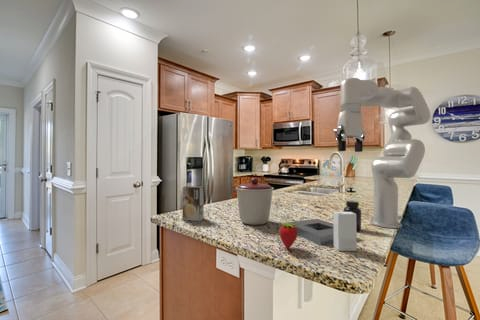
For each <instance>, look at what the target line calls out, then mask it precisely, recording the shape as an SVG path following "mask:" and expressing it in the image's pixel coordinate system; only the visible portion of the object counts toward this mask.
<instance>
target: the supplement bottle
mask: <svg viewBox="0 0 480 320" xmlns="http://www.w3.org/2000/svg"><path fill="white" fill-rule="evenodd" d="M345 201H346V203H345V207H344V208H343V212H352V213H355V214H356V228H357V232H360V231H362V210H361V208H359V207H360V205H359V204H360V202H359V201H356V200H345Z"/></svg>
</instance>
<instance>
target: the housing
mask: <svg viewBox="0 0 480 320" xmlns="http://www.w3.org/2000/svg"><path fill="white" fill-rule="evenodd" d="M286 223H292V224H294V225H297V226H294V227H295V228H296V229H297V237H298V236H299V237H301V238H303V239H306V240H307V241H310V242H313V243H314V244H317V245H319V246H324V245H329V244H334V222H329V221H326V220H323V219H319V218H313V219H305V220H296V221H289V222H288V221H287V222H286ZM292 224H291V225H292Z"/></svg>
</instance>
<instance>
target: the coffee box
mask: <svg viewBox="0 0 480 320" xmlns="http://www.w3.org/2000/svg"><path fill="white" fill-rule="evenodd" d="M204 187H205V186H195V185H193V186H192V185H187V186H184V187H182V221H188V220H190V221H191V222H192V221H194V222H196V221H197V222H201V221H202V220H204V219H205V218H204V198H205V197H204V191H205V189H204ZM190 221H189V222H190Z"/></svg>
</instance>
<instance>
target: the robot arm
mask: <svg viewBox="0 0 480 320" xmlns="http://www.w3.org/2000/svg"><path fill="white" fill-rule="evenodd" d="M363 106H365V107H381V108H386V109H390V110H394V109H395V111H393V112H391V113H390V114H389V116H388V124H389V125H388V126H389V128H390V133H391V134H390V138H389V139H388V141H387V143H386V144H385V146H384V148H383V154H382V155H383V156H379V157H376V158H374V159H373V160H372V162H371V172H372V179H373V218H372V219H370V220H369V223H370V224H371V225H373V226H376V227H379V228H380V227H381V228H387V229H400V228H403V224H402V223H401V222H399V221H400V220H402V219H403V216H402V215H400V214H399V211H398V210H399V187H398V184H397V183H396V181H395V180H394V178H395V179H410V178H413V177H414V176H415V175H416V174H417V172H418V170H419V168H420V165H421V164H422V161H423V159H424V156H425V154H426V153H425V152H426V148H425V146H426V145H424V142H422V140H419V139H415V138H413V137H412V134H411V133H410V131H408V130H407V128H405V127H412V126H419V125H420V126H421V125H425V124H427V123H429V121H430V119H431V110H430V108H429V105H428V103H427V102H426V99H425V97H424V95H423V94H422V92H421V91H420V89H419V88H417V87H415V86H410V87H406V88H402V89H399V90H397V89H393V88H389V87H386V86H378V84H377V83H376V82H375V81H373V80H370V79H360V78H358V77H350V78H348V77H347V78H346V79H344V80H342V81H341V83H340V112H339V113H338V116H337V117H338V119H337V124H336V125H337V127H336V128H335V129H333V132H334V134H335V138H336V141H337V142H338V143H337V151H338V152H346V149H347V142H346V139H347V138H348V139H354V141H355V142H354V152H355V153H362V152H363V143H364V141H365V139H366V138H365V137H366V135H367V132H366V131H365V130H364V129H363V118H362V113H361V112H362V107H363ZM407 107H408V108H407ZM409 107H410V108H409ZM402 108H403V109H402ZM396 109H398V110H396Z"/></svg>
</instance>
